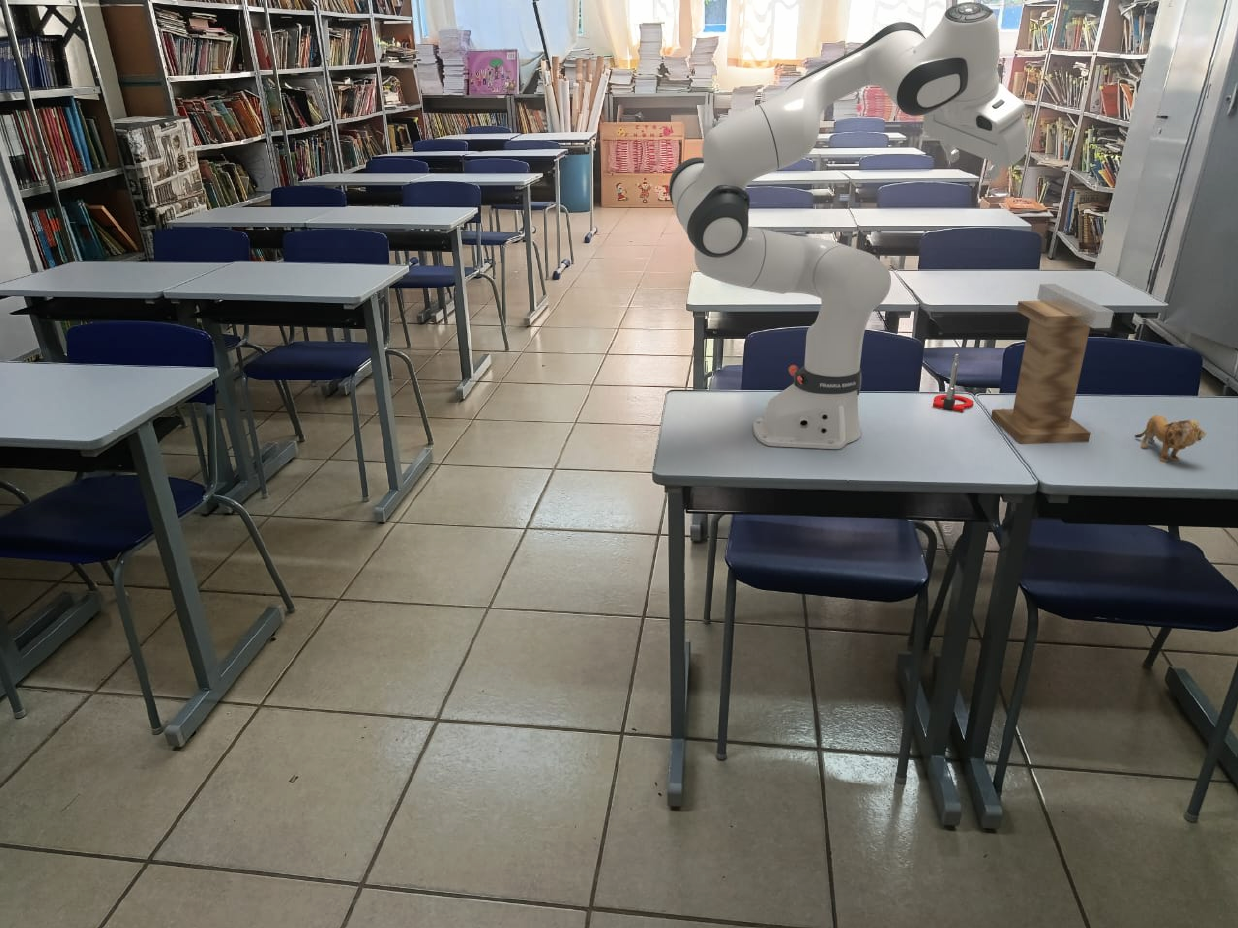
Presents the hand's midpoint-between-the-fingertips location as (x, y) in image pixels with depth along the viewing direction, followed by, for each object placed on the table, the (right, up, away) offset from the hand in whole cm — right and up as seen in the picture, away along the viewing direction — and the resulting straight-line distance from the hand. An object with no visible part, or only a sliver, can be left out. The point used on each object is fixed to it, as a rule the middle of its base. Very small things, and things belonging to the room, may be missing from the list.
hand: (972, 168), depth 152 cm
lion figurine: (+41, -52, +10) cm, 68 cm away
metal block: (+22, -25, +8) cm, 35 cm away
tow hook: (+11, -41, +37) cm, 56 cm away
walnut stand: (+23, -47, +22) cm, 57 cm away
